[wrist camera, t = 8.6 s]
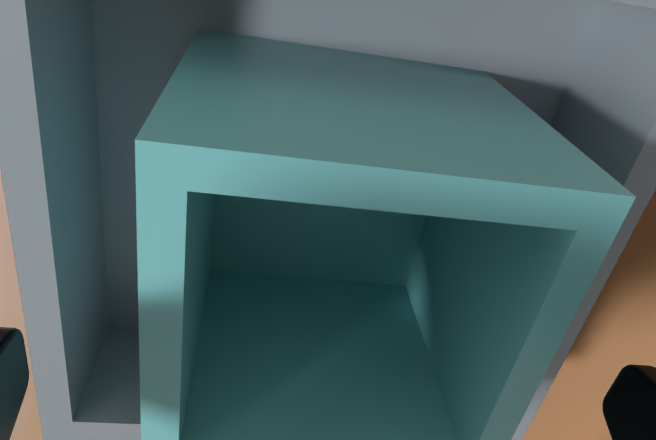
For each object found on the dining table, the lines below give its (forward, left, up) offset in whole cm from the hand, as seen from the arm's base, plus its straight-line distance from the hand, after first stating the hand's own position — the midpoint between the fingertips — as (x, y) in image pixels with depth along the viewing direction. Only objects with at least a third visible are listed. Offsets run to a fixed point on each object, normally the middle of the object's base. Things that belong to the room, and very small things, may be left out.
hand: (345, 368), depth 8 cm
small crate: (0, 0, -6) cm, 6 cm away
